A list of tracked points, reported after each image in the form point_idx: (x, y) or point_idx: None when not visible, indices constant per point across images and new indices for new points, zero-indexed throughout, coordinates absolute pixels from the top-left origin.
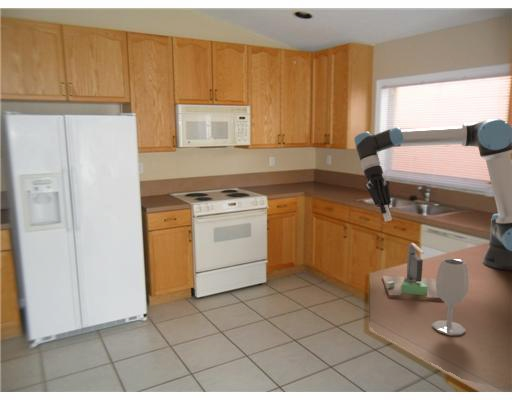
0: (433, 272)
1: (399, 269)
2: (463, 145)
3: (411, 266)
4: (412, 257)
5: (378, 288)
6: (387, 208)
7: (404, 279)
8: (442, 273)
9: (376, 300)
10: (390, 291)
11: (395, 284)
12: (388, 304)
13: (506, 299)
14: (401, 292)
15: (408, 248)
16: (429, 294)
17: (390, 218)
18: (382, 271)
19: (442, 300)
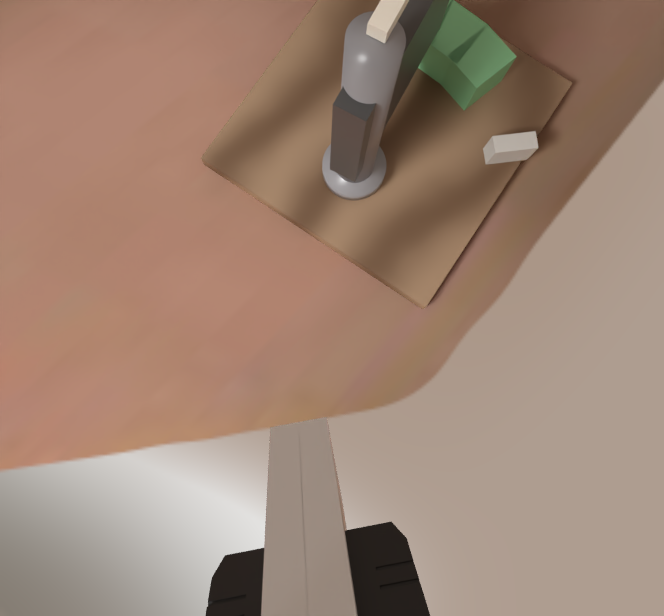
0: (75, 272)
1: (217, 397)
2: None
3: (404, 77)
4: (420, 28)
5: (535, 205)
6: (306, 577)
7: (382, 179)
8: None
9: (637, 94)
10: (541, 111)
11: (452, 173)
12: (614, 40)
13: None
14: (500, 80)
15: (396, 74)
16: None
17: (304, 433)
18: (338, 410)
19: None
